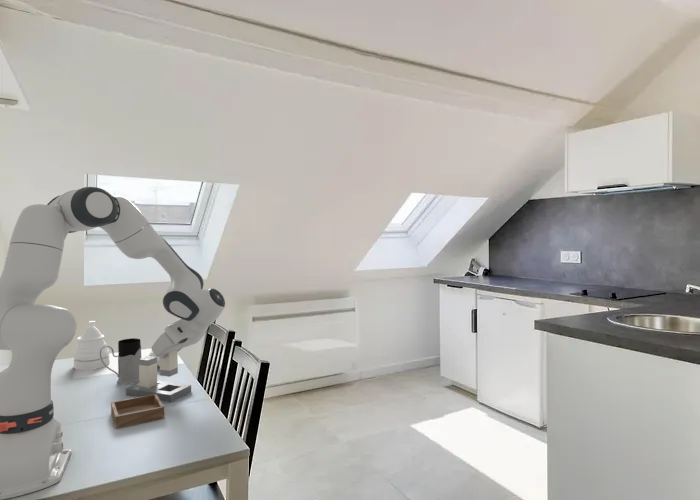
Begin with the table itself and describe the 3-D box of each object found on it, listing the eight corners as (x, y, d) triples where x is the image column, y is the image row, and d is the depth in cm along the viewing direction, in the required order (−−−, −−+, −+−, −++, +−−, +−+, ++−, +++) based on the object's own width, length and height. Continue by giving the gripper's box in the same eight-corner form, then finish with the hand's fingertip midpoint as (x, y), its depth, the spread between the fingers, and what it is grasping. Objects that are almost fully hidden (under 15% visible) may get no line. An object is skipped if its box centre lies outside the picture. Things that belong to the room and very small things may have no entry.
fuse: (157, 390, 158) (156, 357, 158) (148, 394, 154) (148, 360, 154) (148, 389, 159) (147, 356, 159) (139, 393, 156) (138, 359, 155)
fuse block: (191, 392, 157) (191, 385, 157) (170, 402, 147) (170, 395, 147) (148, 385, 163) (148, 378, 163) (125, 395, 154) (125, 388, 154)
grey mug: (142, 382, 167) (141, 342, 166) (98, 387, 161) (97, 346, 161) (143, 375, 175) (142, 337, 174) (102, 379, 169) (101, 340, 169)
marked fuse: (178, 373, 155) (177, 338, 154) (169, 376, 151) (168, 341, 150) (168, 371, 156) (167, 337, 155) (159, 375, 152) (159, 340, 152)
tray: (164, 418, 135) (164, 406, 135) (116, 428, 128) (115, 416, 128) (156, 404, 146) (156, 393, 146) (111, 413, 139) (110, 402, 139)
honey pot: (78, 362, 192) (77, 320, 191) (112, 359, 196) (111, 318, 195) (70, 371, 180) (68, 326, 179) (106, 368, 184) (104, 324, 183)
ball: (154, 372, 187) (146, 355, 189) (173, 363, 190) (165, 346, 192) (151, 368, 180) (143, 351, 182) (171, 359, 183) (163, 341, 186)
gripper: (204, 315, 160) (182, 340, 164) (162, 327, 141) (138, 355, 144) (215, 329, 159) (193, 354, 162) (174, 342, 139) (150, 370, 143)
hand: (167, 354), depth 153 cm, fingers closed on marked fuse, 4 cm apart
